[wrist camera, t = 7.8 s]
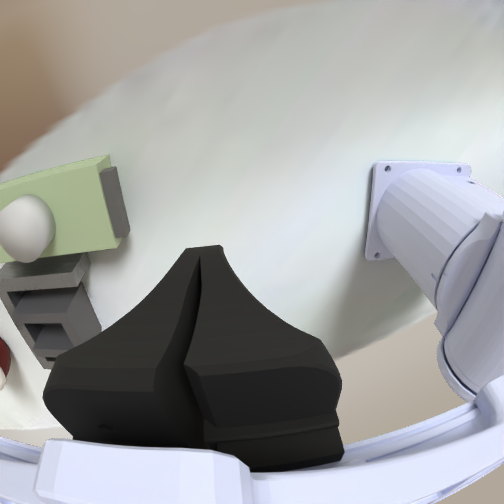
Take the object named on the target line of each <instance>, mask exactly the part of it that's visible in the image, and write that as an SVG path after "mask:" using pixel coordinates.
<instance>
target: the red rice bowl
mask: <svg viewBox="0 0 504 504" xmlns="http://www.w3.org/2000/svg"><path fill="white" fill-rule="evenodd" d="M10 362H11V357H10V353H9V349H8V347H7V345H6V344H5V342H4V341H3V340H2V339H1V338H0V390H2V389H3V388H4V386H5V384H6V376H7V374H8V371H9V367H10Z"/></svg>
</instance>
